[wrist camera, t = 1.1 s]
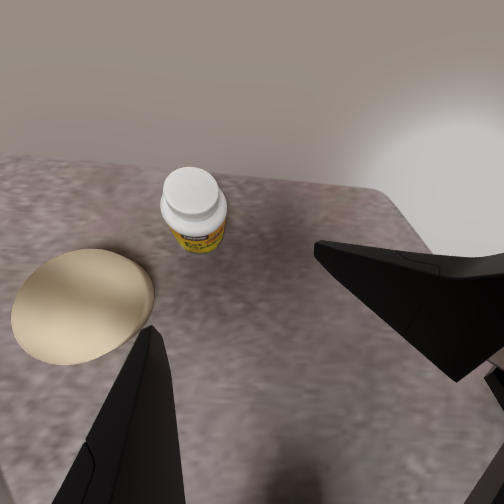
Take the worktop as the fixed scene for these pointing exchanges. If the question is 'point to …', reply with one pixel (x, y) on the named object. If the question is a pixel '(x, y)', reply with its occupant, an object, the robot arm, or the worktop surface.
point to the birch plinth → (81, 306)
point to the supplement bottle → (194, 209)
